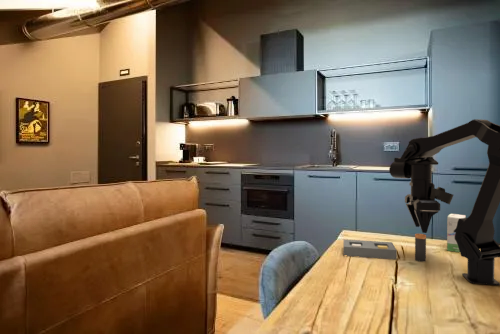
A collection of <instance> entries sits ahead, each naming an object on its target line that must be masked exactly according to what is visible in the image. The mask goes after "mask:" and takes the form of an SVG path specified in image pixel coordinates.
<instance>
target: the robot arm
mask: <svg viewBox="0 0 500 334" xmlns="http://www.w3.org/2000/svg"><path fill="white" fill-rule="evenodd" d="M475 138H477V139H478V140H479V141H480V142H481V143H483V144H485V145H487V151H486V155H487V158H488V166H487V170H486V172H485V175H484V178H483V180H482V183H481V186H480V187H479V190H478V194H477V196H476V198H475V202H474V205H473V207H472V210H471V212H470V214H469V216H468V217H466V218H460V219H459V220H458V222H457V227H456V229H455V230H454V232H456V233H455V240H456V242H457V244H458V247H459V251H460V252H459V254H460V256H461V257H462V258H465V259H467V273H466V272H465V273H464V272H462V273H461V274H462V276H463V277H464V278H465V279H466V280H467V281H468V282H469V283H471V284H476V285H478V284H479V285H486V286H487V285H488V286H489V285H490V286H500V282H499V281H498V280H496V279H495V259H497V258H500V244H499V243H498V242H497V241H496V240H495V238H494V236H495V228H494V223H493V222H494V218H495V215H496V212H497V211H498V208H499V205H500V125H499V124H496V123H494V122H492V121H490V120H488V119H482V118H481V119H479V118H478V119H477V118H476V119H475V118H474V119H472V120H470V121H469V122H465V123H464V124H461V125H458V126H456V127H452V128H451V129H450V128H449V129H448V130H446V131H442V132H440V133H437V134H435V135H431V136H422V137H416V138H411V140H409V141H408V143H407V144H408V145H407V146H406V148H405V149H404V151H403V152H402V155H401V156H400V157H394V158H393V162H392V163H391V164H390V166H389V169H388V170H389V174H390V175H391V177H392V178H395V179H407V180H408V179H409V180H410V181H409V186H410V194H409V193H408V194H407V195H405V197H404V203H405V205H406V208H407V210H408V212H409V214H410V217H411V219H412V222H413V223H414V225H415V227H416V228H420V230H421V232H422V234H427V232H428V229H429V226H430V224H431V220H432V217H433V216H434V215H435V214H438V213H439V212H440V211H441V203H440V202H443V203H445V204H447V205H451V202H452V199H453V198H454V194H452V193H450V192H446V189H445V188H443V187H440V186H438V187H436V188H435V183H434V182H432V180H433V178H432V177H433V176H432V175H433V173H432V168H433V166H438V165H439V162H438V161H437V160H436V159H435V158H434V156H435V155H437V154H439V153H440V152H441V151H442V150H444V149H445V148H447V147H451V146H454V145H457V144H459V143H462V142H465V141H469V140H472V139H475ZM437 200H438V201H437ZM439 201H440V202H439Z"/></svg>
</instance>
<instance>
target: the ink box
mask: <svg viewBox="0 0 500 334" xmlns="http://www.w3.org/2000/svg"><path fill="white" fill-rule="evenodd" d="M446 218H447V219H446V220H447V223H446V226H447V227H446V229H447V230H446V232H447V233H446V237H447V238H446V240H447V241H446V251H448V252H454V251H455V253H460V251H459V247H458V244H457V242H456V240H455V233H456V232H454V230H455V229H456V227H457V222H458V220H459V219H460V218H467V217H466V214H458V213H450V214H448V215H447V217H446Z"/></svg>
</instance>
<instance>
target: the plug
mask: <svg viewBox="0 0 500 334" xmlns="http://www.w3.org/2000/svg"><path fill="white" fill-rule="evenodd" d="M414 237H415V238H414V261H415V262H421V263H423V262H427V235H426V233H415V234H414Z"/></svg>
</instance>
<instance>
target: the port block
mask: <svg viewBox="0 0 500 334" xmlns="http://www.w3.org/2000/svg"><path fill="white" fill-rule="evenodd" d="M395 246H396V245H394V242H393V241H378V240H377V241H376V240H374V241H373V240H360V239H359V240H357V239H343V256H344V255H347V256H346V257H354V256H359V257H358V258H368V257H370V259H384V260H387V259H388V260H397V257H398V256H397V251H398V249H397V248H396V247H395Z"/></svg>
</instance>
